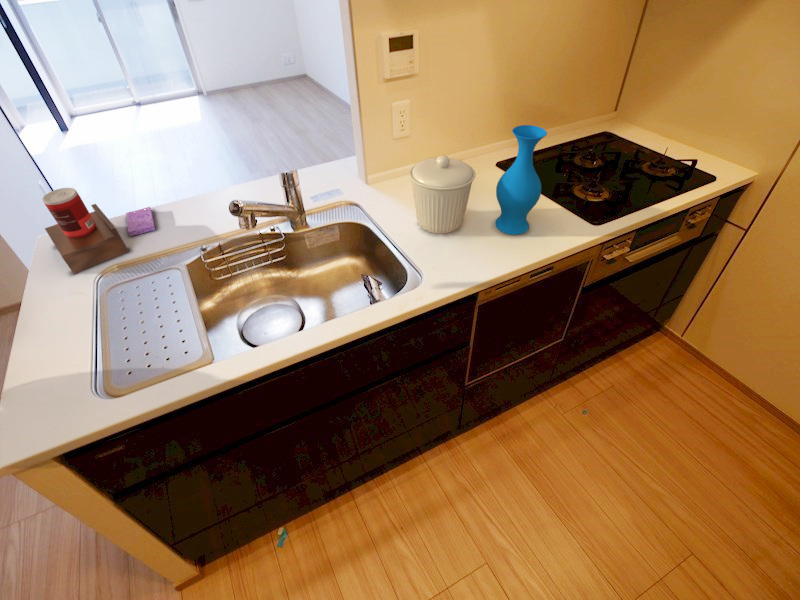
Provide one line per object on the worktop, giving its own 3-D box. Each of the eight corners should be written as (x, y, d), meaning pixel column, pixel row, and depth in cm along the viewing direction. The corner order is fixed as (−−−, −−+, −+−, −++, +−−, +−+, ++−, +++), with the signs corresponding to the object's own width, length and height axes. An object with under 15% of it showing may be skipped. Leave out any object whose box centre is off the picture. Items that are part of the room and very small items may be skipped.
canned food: (93, 220, 121) (72, 184, 113) (100, 231, 116) (79, 195, 109) (63, 230, 117) (39, 194, 110) (68, 242, 112) (44, 205, 105)
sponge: (130, 236, 125) (127, 231, 124) (128, 217, 133) (125, 211, 132) (156, 230, 127) (153, 224, 126) (152, 211, 135) (149, 206, 134)
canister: (467, 208, 133) (474, 142, 119) (472, 241, 120) (481, 171, 106) (409, 208, 134) (409, 142, 120) (408, 241, 121) (408, 171, 107)
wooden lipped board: (74, 274, 112) (56, 249, 107) (56, 246, 122) (40, 222, 117) (129, 251, 119) (115, 227, 114) (108, 227, 129) (95, 203, 124)
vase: (491, 237, 121) (506, 140, 103) (490, 214, 131) (503, 121, 112) (534, 239, 120) (558, 142, 101) (530, 216, 130) (550, 122, 111)
